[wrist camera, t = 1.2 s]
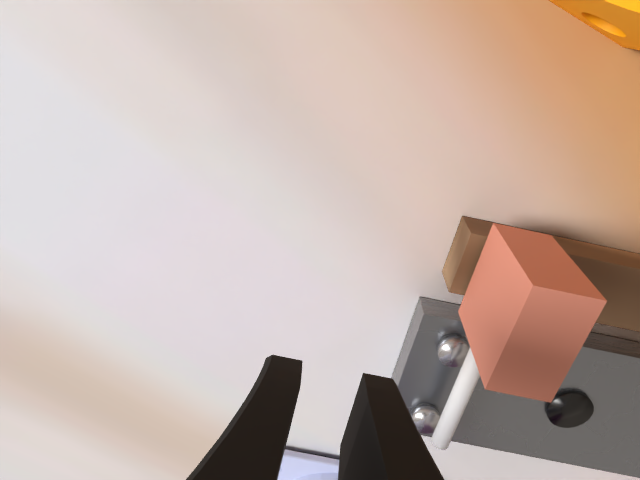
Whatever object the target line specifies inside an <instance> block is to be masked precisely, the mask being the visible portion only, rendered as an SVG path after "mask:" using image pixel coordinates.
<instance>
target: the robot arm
mask: <svg viewBox="0 0 640 480" xmlns="http://www.w3.org/2000/svg"><path fill="white" fill-rule="evenodd" d="M301 373H302V361H301V360H296V359H291V358H286V357H281V356H276V355H271V356H269V357H267V358H266V360H265V363H264V366H263V368H262V370H261V372H260V374H259V377H258V379H257V380H256V382H255V384H254V386H253V388H252V389H251V391H250V393H249V394H248V396H247V398H246V399H245V401H244V403H243V404H242V406H241V407H240V409H239V410H238V412H237V413H236V415H235V416H234V418H233V419H232V421H231V422H230V423H229V425H228V426H227V428H226V429H225V431H224V432H223V434H222V435H221V436H220V438H219V439H218V440H217V441H216V443H215V444H214V445H213V447H212V448H211V449H210V450H209V452H208V453H207V454H206V456H205V457H204V458H203V459H202V461H201V462H200V463H199V465H198V466H197V467H196V468H195V470H194V471H193V472H192V473H191V474H190V476H189V477H188V478H187V479H186V480H444V479H443V477H442V475H441V473H440V471H439V469H438V467H437V466H436V464H435V462H434V460H433V458H432V456H431V455H430V453H429V451H428V449H427V447H426V445H425V443H424V441H423V439H422V437H421V435H420V433H419V431H418V429H417V427H416V425H415V423H414V421H413V419H412V417H411V415H410V413H409V411H408V408H407V406H406V404H405V402H404V400H403V398H402V395H401V393H400V391H399V389H398V387H397V384H396V383H395V381H394V380H393V379H391V378H386V377H381V376H376V375H371V374H366V373H363V375H362V379H361V382H360V385H359V388H358V391H357V394H356V398H355V401H354V404H353V407H352V410H351V414H350V417H349V420H348V423H347V426H346V429H345V433H344V436H343V439H342V442H341V447H340V459H339V460H338V459H333V458H328V457H322V456H317V455H312V454H307V453H302V452H296V451H291V450H286V449H285V447H286V442H287V438H288V434H289V430H290V426H291V422H292V418H293V414H294V410H295V406H296V402H297V398H298V394H299V390H300V384H301Z"/></svg>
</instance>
